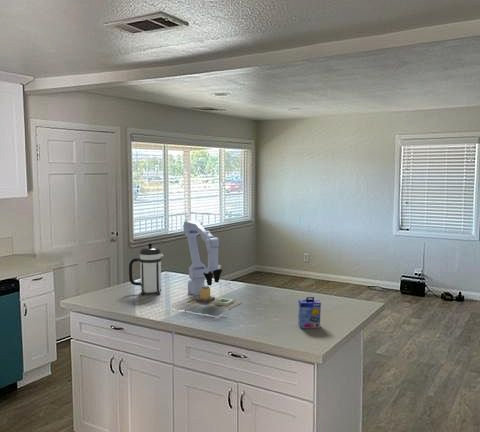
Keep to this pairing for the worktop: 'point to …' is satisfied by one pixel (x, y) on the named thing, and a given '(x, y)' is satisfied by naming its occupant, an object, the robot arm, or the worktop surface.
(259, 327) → the worktop surface
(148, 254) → the coffee press
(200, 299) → the grey square frame
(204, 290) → the plug
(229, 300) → the pale green square frame
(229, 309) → the switch board
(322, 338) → the worktop surface
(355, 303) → the worktop surface
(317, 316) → the ink cartridge box
